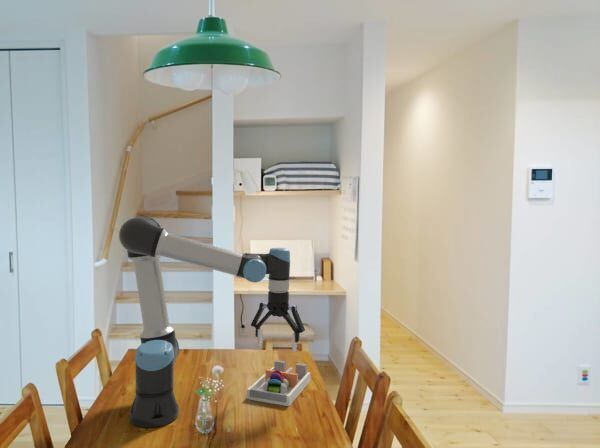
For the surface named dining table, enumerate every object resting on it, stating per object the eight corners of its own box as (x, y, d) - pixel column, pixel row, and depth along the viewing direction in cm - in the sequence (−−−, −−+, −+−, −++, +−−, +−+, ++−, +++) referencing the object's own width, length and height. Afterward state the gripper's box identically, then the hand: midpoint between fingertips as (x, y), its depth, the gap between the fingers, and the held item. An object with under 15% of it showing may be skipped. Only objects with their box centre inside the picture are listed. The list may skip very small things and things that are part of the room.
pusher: (296, 388, 171) (296, 375, 171) (265, 383, 175) (265, 370, 175) (306, 377, 182) (306, 365, 181) (276, 373, 186) (276, 360, 185)
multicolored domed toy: (289, 387, 173) (290, 368, 172) (284, 397, 163) (285, 377, 163) (267, 385, 174) (268, 366, 174) (261, 395, 165) (261, 375, 164)
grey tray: (289, 406, 159) (289, 387, 158) (246, 399, 164) (247, 381, 164) (310, 381, 181) (310, 364, 181) (272, 375, 187) (272, 359, 186)
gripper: (314, 292, 167) (312, 349, 168) (251, 285, 175) (250, 340, 176) (308, 296, 160) (305, 356, 161) (243, 289, 168) (241, 346, 169)
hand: (276, 348), depth 169 cm, fingers open, 13 cm apart
